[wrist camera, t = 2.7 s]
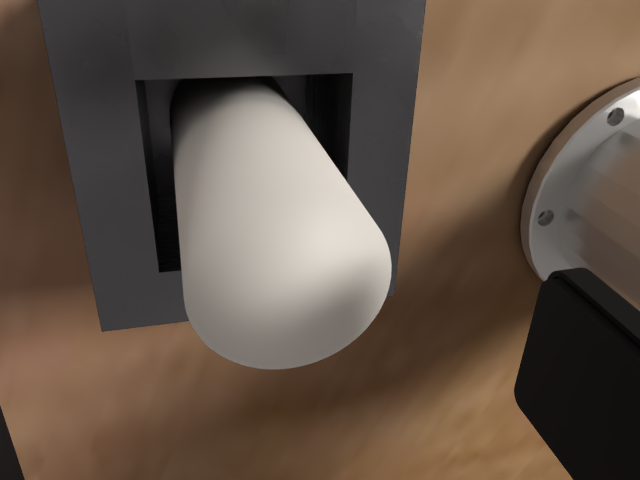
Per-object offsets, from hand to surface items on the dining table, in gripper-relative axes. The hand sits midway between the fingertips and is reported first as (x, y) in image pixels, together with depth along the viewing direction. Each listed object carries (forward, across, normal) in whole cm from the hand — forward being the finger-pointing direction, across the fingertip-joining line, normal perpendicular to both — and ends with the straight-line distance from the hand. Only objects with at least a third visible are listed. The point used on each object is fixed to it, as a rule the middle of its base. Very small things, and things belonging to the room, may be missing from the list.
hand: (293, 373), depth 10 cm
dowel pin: (+15, -1, 0) cm, 15 cm away
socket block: (+16, -1, 0) cm, 16 cm away
